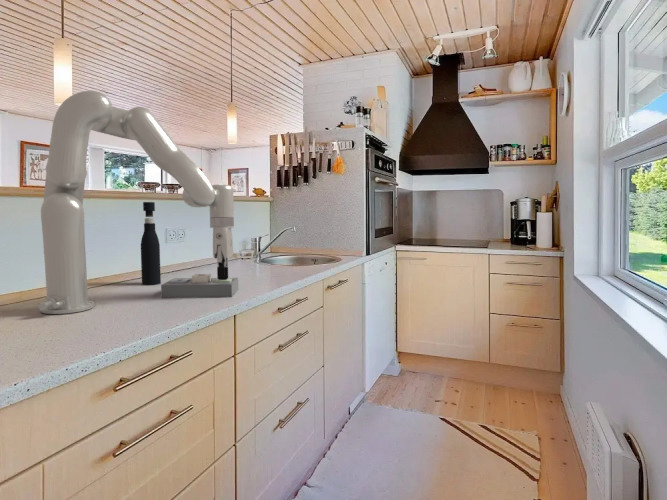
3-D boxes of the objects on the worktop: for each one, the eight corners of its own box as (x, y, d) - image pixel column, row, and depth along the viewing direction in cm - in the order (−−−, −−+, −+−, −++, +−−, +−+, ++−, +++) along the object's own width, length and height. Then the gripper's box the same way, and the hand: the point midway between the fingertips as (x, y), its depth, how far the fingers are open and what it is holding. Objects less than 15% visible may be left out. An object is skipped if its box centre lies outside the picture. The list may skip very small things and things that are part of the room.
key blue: (185, 290, 136) (185, 281, 136) (169, 290, 136) (169, 281, 135) (190, 287, 141) (189, 278, 141) (174, 287, 141) (174, 278, 140)
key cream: (207, 285, 136) (207, 275, 136) (191, 285, 136) (191, 276, 136) (211, 282, 141) (211, 273, 141) (196, 282, 141) (195, 273, 141)
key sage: (229, 290, 137) (229, 280, 137) (214, 290, 137) (213, 280, 136) (232, 287, 142) (232, 278, 142) (217, 287, 142) (217, 278, 141)
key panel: (231, 296, 133) (231, 284, 133) (161, 297, 132) (161, 284, 131) (238, 289, 146) (238, 277, 146) (174, 289, 145) (174, 278, 144)
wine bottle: (163, 283, 156) (161, 202, 154) (146, 285, 152) (143, 201, 149) (156, 281, 161) (153, 202, 158) (139, 283, 156) (136, 202, 154)
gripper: (229, 223, 130) (230, 282, 132) (237, 222, 145) (238, 275, 146) (204, 223, 129) (205, 283, 131) (215, 222, 144) (216, 275, 146)
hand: (222, 278), depth 139 cm, fingers closed
